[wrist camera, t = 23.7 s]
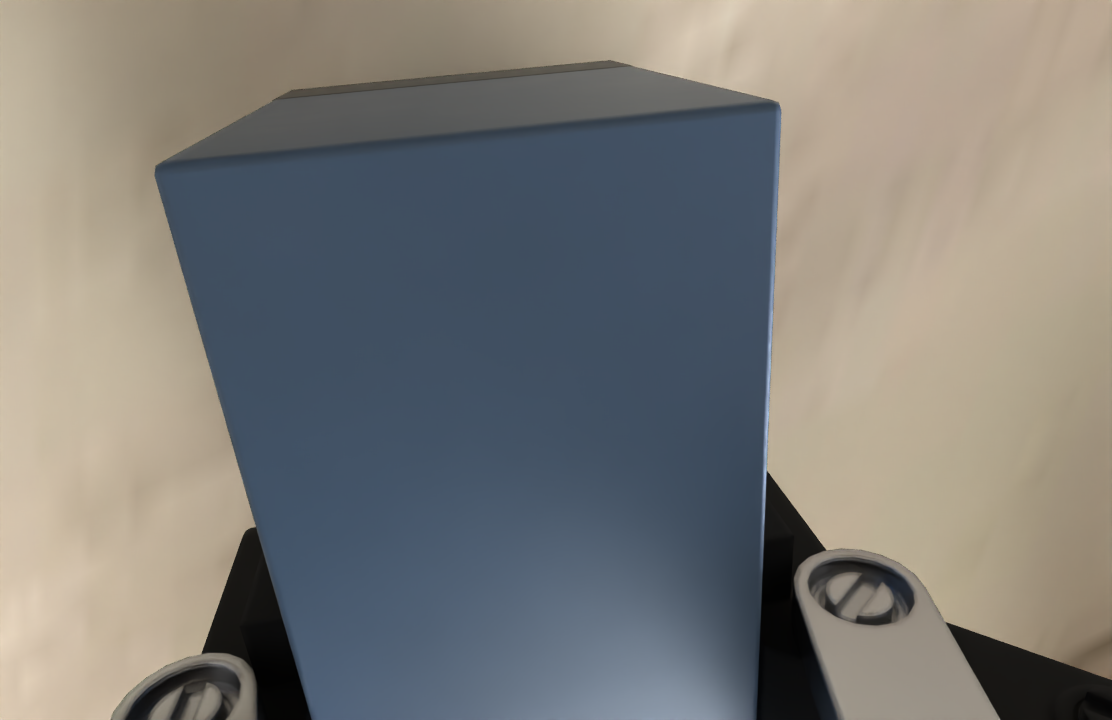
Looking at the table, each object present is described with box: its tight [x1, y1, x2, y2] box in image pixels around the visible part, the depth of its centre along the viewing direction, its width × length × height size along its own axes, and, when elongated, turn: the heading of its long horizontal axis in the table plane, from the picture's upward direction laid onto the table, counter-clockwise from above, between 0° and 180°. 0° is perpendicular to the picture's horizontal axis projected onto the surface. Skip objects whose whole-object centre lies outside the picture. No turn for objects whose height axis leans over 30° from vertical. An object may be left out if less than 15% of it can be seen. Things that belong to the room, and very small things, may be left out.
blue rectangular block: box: [154, 60, 781, 720], centre depth 10 cm, size 12×4×5 cm, turn 4°
